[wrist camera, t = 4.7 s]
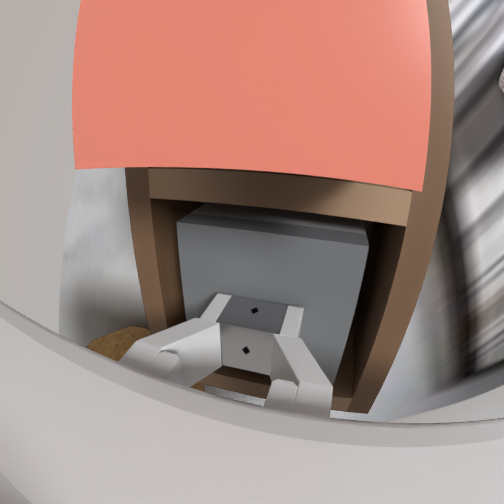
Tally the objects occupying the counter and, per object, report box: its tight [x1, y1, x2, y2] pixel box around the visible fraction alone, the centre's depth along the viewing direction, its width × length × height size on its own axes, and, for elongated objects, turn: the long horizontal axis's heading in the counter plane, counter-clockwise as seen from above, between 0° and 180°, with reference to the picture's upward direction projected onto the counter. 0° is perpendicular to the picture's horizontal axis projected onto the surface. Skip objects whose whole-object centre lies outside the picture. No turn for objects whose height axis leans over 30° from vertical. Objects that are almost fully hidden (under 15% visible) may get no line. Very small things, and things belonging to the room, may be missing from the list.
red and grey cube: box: [72, 0, 431, 192], centre depth 6 cm, size 6×6×6 cm
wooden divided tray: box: [125, 0, 454, 414], centre depth 11 cm, size 10×18×7 cm, turn 178°
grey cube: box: [177, 202, 369, 386], centre depth 13 cm, size 6×6×6 cm
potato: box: [86, 326, 205, 392], centre depth 20 cm, size 10×14×8 cm
